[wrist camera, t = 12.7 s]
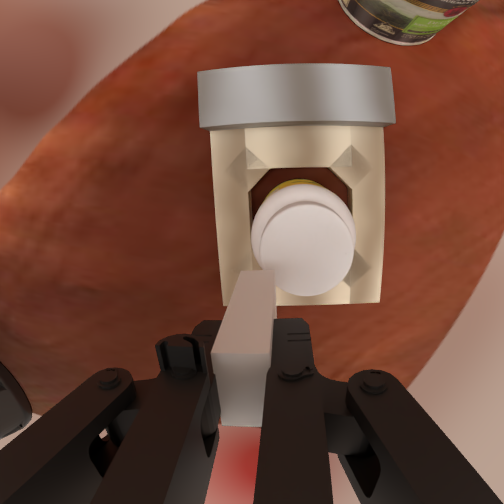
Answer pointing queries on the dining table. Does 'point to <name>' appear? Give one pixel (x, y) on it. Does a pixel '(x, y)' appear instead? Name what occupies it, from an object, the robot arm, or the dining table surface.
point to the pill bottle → (304, 237)
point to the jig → (299, 156)
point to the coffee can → (404, 17)
